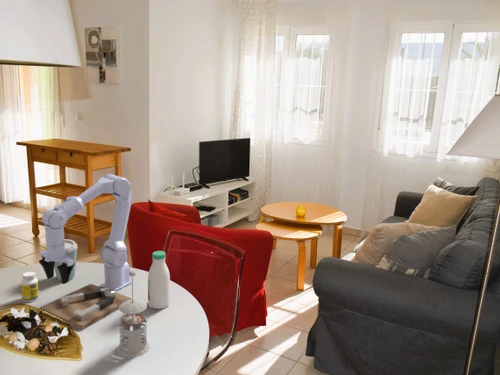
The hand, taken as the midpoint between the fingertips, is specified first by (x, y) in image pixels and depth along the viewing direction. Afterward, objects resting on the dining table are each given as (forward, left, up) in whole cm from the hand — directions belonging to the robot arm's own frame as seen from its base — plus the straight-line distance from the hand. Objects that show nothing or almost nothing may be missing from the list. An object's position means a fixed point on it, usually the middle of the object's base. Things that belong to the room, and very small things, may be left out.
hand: (57, 280), depth 148 cm
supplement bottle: (+3, -12, -10) cm, 16 cm away
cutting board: (-4, +9, -10) cm, 14 cm away
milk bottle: (-19, +29, -10) cm, 36 cm away
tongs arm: (-6, +9, -8) cm, 13 cm away
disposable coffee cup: (-15, -16, -10) cm, 24 cm away
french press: (+5, +39, -10) cm, 41 cm away
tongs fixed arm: (-2, +15, -8) cm, 17 cm away
